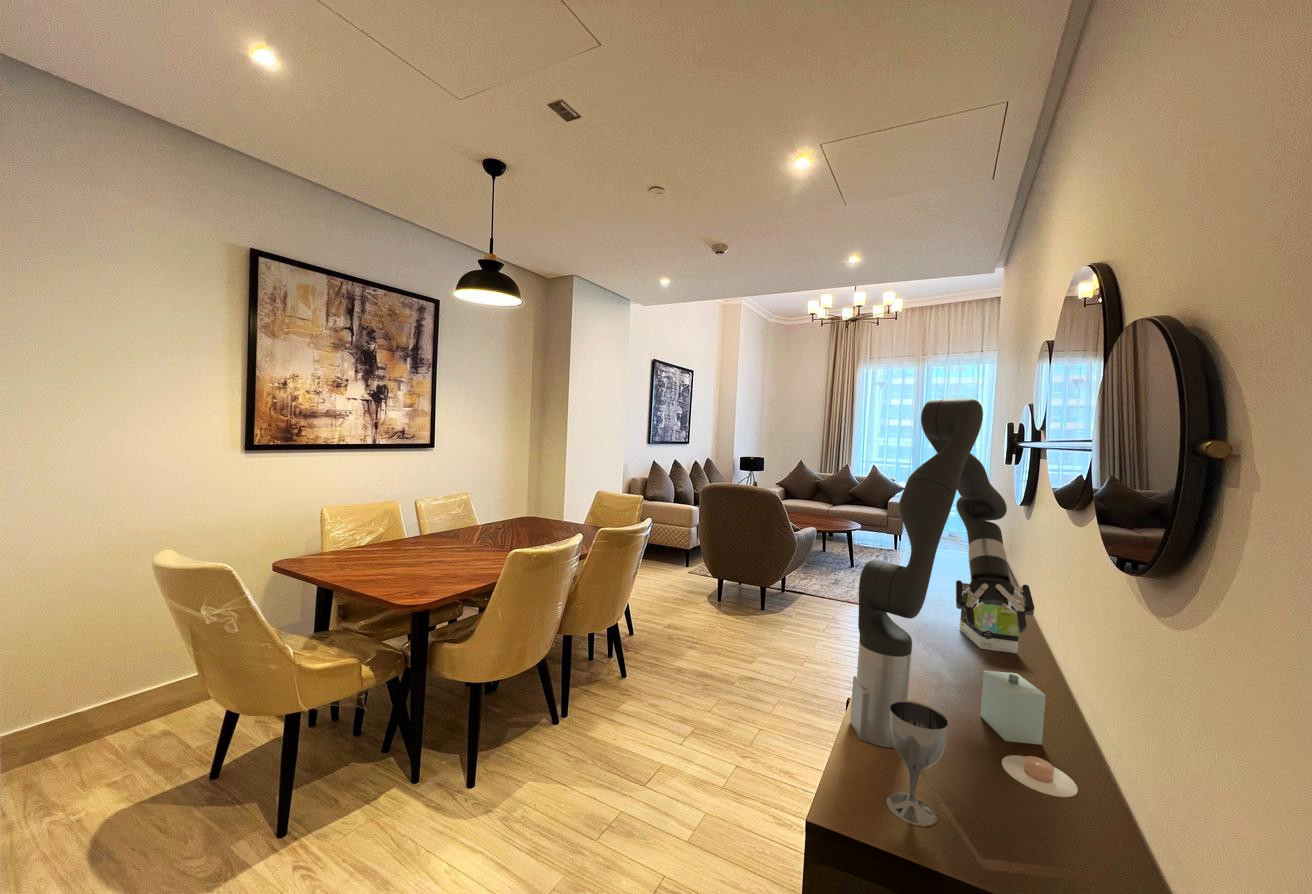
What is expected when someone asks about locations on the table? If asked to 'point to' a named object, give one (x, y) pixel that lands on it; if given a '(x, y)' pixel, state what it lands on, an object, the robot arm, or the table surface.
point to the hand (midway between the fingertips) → (996, 628)
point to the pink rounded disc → (1039, 769)
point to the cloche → (1013, 707)
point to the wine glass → (915, 753)
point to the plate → (1058, 787)
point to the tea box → (991, 626)
